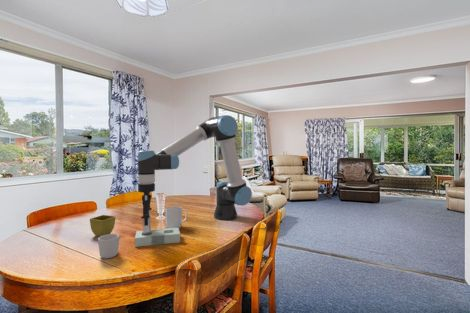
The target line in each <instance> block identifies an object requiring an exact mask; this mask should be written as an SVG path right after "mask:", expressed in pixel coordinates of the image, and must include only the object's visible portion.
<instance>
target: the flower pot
mask: <svg viewBox="0 0 470 313" xmlns="http://www.w3.org/2000/svg"><path fill="white" fill-rule="evenodd" d="M115 224H116V216H114V215H107V214H101V215H98V216H94V217H91V218H89V225H90V230H91V232H92V233H93V235H95V236H97V237H100V236H103V235H107V234H112V232H113V230H114V228H115Z"/></svg>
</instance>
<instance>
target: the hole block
mask: <svg viewBox="0 0 470 313" xmlns="http://www.w3.org/2000/svg"><path fill="white" fill-rule="evenodd" d="M180 242H181V232H180V228H168V229H167V228H158V229H157V228H156V229H151V235H143V230H136V231H135V236H134V247H135V248H137V247H147V246H157V245H165V244H167V245H168V244H175V243H180Z"/></svg>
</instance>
